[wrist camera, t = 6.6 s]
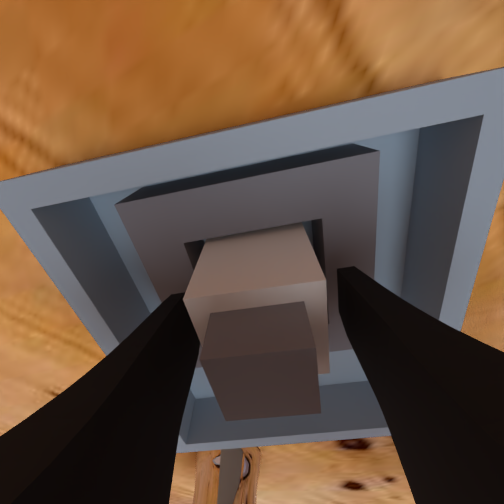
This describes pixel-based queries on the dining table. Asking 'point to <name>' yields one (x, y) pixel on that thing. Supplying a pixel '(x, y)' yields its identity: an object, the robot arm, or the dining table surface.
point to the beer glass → (227, 476)
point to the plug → (261, 322)
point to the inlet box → (277, 214)
